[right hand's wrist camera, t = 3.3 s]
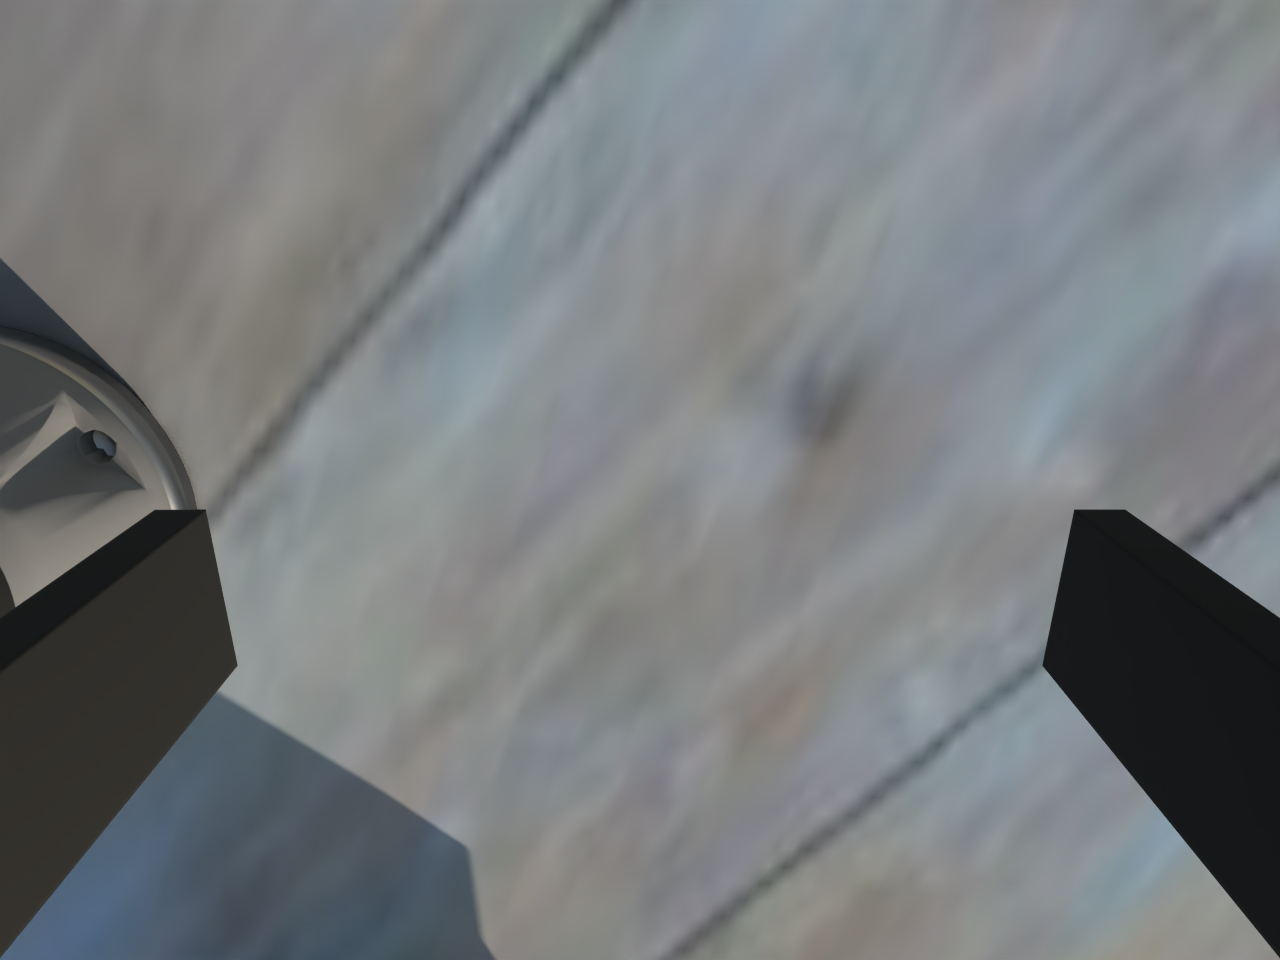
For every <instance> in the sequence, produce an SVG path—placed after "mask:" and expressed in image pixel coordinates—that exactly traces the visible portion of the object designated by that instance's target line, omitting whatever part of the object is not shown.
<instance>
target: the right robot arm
mask: <svg viewBox="0 0 1280 960" xmlns="http://www.w3.org/2000/svg"><path fill="white" fill-rule="evenodd" d="M236 667H237V661H236V656H235V651H234V646H233V641H232V636H231V631H230V626H229V622H228V617H227V612H226V607H225V602H224V597H223V592H222V587H221V582H220V578H219V573H218V568H217V563H216V558H215V553H214V548H213V543H212V538H211V534H210V529H209V524H208V519H207V514H206V510H197V507H196V502H195V497H194V493H193V490H192V486H191V483H190V479H189V477H188V475H187V472H186V470H185V467H184V465H183V462H182V460H181V458H180V457H179V455H178V453H177V451H176V449H175V447H174V445H173V444H172V442H171V440H170V439H169V437H168V436H167V434H166V433H165V431H164V430H163V428H162V427H161V426H160V424H159V423H158V422H157V420H156V419H155V418H154V416H153V415H152V414H151V413H150V412H149V411H148V410H147V408H146V407H145V406H144V405H143V404H142V403H141V402H140V401H139V400H138V399H137V398H136V397H135V396H134V395H133V394H132V393H131V392H130V391H129V390H128V389H127V388H126V387H125V386H123V385H122V384H121V383H120V382H118V381H117V380H116V379H115V378H114V377H112V376H111V375H110V374H108V373H107V372H106V371H104V370H103V369H101V368H100V367H98V366H97V365H95V364H94V363H92V362H91V361H89V360H87V359H86V358H84V357H82V356H81V355H79V354H77V353H75V352H73V351H71V350H69V349H67V348H65V347H63V346H61V345H59V344H57V343H54V342H52V341H49V340H47V339H44V338H41V337H39V336H36V335H32V334H29V333H26V332H22V331H19V330H14V329H9V328H4V327H0V957H1V956H2V955H3V954H4V953H5V951H6V950H7V949H8V948H9V946H10V945H11V944H12V943H13V941H14V940H15V939H16V938H17V937H18V935H19V934H20V933H21V932H22V930H23V929H24V928H25V927H26V925H27V924H28V923H29V922H30V921H31V919H32V918H33V917H34V916H35V914H36V913H37V912H38V911H39V909H40V908H41V907H42V906H43V905H44V903H45V902H46V901H47V900H48V898H49V897H50V896H51V895H52V893H53V892H54V891H55V890H56V889H57V887H58V886H59V885H60V884H61V882H62V881H63V880H64V879H65V877H66V876H67V875H68V874H69V872H70V871H71V870H72V869H73V868H74V866H75V865H76V864H77V863H78V861H79V860H80V859H81V858H82V856H83V855H84V854H85V853H86V852H87V850H88V849H89V848H90V847H91V845H92V844H93V843H94V842H95V840H96V839H97V838H98V837H99V836H100V834H101V833H102V832H103V831H104V829H105V828H106V827H107V826H108V824H109V823H110V822H111V821H112V820H113V818H114V817H115V816H116V815H117V813H118V812H119V811H120V810H121V808H122V807H123V806H124V805H125V804H126V802H127V801H128V800H129V799H130V797H131V796H132V795H133V794H134V792H135V791H136V790H137V789H138V788H139V786H140V785H141V784H142V783H143V781H144V780H145V779H146V778H147V776H148V775H149V774H150V773H151V772H152V770H153V769H154V768H155V767H156V765H157V764H158V763H159V762H160V760H161V759H162V758H163V757H164V755H165V754H166V753H167V752H168V751H169V749H170V748H171V747H172V746H173V744H174V743H175V742H176V741H177V739H178V738H179V737H180V736H181V735H182V733H183V732H184V731H185V730H186V728H187V727H188V726H189V725H190V723H191V722H192V721H193V720H194V719H195V717H196V716H197V715H198V714H199V712H200V711H201V710H202V709H203V707H204V706H205V705H206V704H207V703H208V701H209V700H210V699H211V698H212V696H213V695H214V694H215V693H216V691H217V690H218V689H219V688H220V687H221V685H222V684H223V683H224V682H225V680H226V679H227V678H228V677H229V675H230V674H231V673H232V672H233V671H234V669H235V668H236ZM1043 667H1044V668H1045V669H1046V671H1047V672H1048V673H1049V674H1050V675H1051V677H1052V678H1053V679H1054V680H1055V682H1056V683H1057V684H1058V685H1059V687H1060V688H1061V689H1062V690H1063V691H1064V693H1065V694H1066V695H1067V696H1068V698H1069V699H1070V700H1071V701H1072V703H1073V704H1074V705H1075V706H1076V707H1077V709H1078V710H1079V711H1080V712H1081V714H1082V715H1083V716H1084V717H1085V719H1086V720H1087V721H1088V722H1089V723H1090V725H1091V726H1092V727H1093V728H1094V730H1095V731H1096V732H1097V733H1098V735H1099V736H1100V737H1101V738H1102V739H1103V741H1104V742H1105V743H1106V744H1107V746H1108V747H1109V748H1110V749H1111V751H1112V752H1113V753H1114V754H1115V755H1116V757H1117V758H1118V759H1119V760H1120V762H1121V763H1122V764H1123V765H1124V767H1125V768H1126V769H1127V770H1128V772H1129V773H1130V774H1131V775H1132V776H1133V778H1134V779H1135V780H1136V781H1137V783H1138V784H1139V785H1140V786H1141V788H1142V789H1143V790H1144V791H1145V792H1146V794H1147V795H1148V796H1149V797H1150V799H1151V800H1152V801H1153V802H1154V804H1155V805H1156V806H1157V807H1158V808H1159V810H1160V811H1161V812H1162V813H1163V815H1164V816H1165V817H1166V818H1167V820H1168V821H1169V822H1170V823H1171V824H1172V826H1173V827H1174V828H1175V829H1176V831H1177V832H1178V833H1179V834H1180V836H1181V837H1182V838H1183V839H1184V840H1185V842H1186V843H1187V844H1188V845H1189V847H1190V848H1191V849H1192V850H1193V852H1194V853H1195V854H1196V855H1197V856H1198V858H1199V859H1200V860H1201V861H1202V863H1203V864H1204V865H1205V866H1206V868H1207V869H1208V870H1209V871H1210V872H1211V874H1212V875H1213V876H1214V877H1215V879H1216V880H1217V881H1218V882H1219V884H1220V885H1221V886H1222V887H1223V889H1224V890H1225V891H1226V892H1227V893H1228V895H1229V896H1230V897H1231V898H1232V900H1233V901H1234V902H1235V903H1236V905H1237V906H1238V907H1239V908H1240V909H1241V911H1242V912H1243V913H1244V914H1245V916H1246V917H1247V918H1248V919H1249V921H1250V922H1251V923H1252V924H1253V925H1254V927H1255V928H1256V929H1257V930H1258V932H1259V933H1260V934H1261V935H1262V937H1263V938H1264V939H1265V940H1266V941H1267V943H1268V944H1269V945H1270V946H1271V948H1272V949H1273V950H1274V951H1275V953H1276V954H1277V955H1278V956H1279V957H1280V618H1279V617H1278V616H1276V615H1275V614H1273V613H1272V612H1270V611H1269V610H1268V609H1266V608H1265V607H1263V606H1262V605H1260V604H1259V603H1258V602H1256V601H1255V600H1253V599H1252V598H1250V597H1249V596H1248V595H1246V594H1245V593H1243V592H1242V591H1240V590H1239V589H1238V588H1236V587H1235V586H1233V585H1232V584H1230V583H1229V582H1228V581H1226V580H1225V579H1223V578H1222V577H1221V576H1219V575H1218V574H1216V573H1215V572H1213V571H1212V570H1211V569H1209V568H1208V567H1206V566H1205V565H1203V564H1202V563H1201V562H1199V561H1198V560H1196V559H1195V558H1193V557H1192V556H1191V555H1189V554H1188V553H1186V552H1185V551H1183V550H1182V549H1181V548H1179V547H1178V546H1176V545H1175V544H1173V543H1172V542H1171V541H1169V540H1168V539H1166V538H1165V537H1163V536H1162V535H1161V534H1159V533H1158V532H1156V531H1155V530H1153V529H1152V528H1151V527H1149V526H1148V525H1146V524H1145V523H1143V522H1142V521H1141V520H1139V519H1138V518H1136V517H1135V516H1133V515H1132V514H1131V513H1129V512H1128V511H1126V510H1074V514H1073V519H1072V524H1071V529H1070V534H1069V538H1068V543H1067V548H1066V553H1065V558H1064V563H1063V568H1062V573H1061V578H1060V582H1059V587H1058V592H1057V597H1056V602H1055V607H1054V612H1053V617H1052V622H1051V626H1050V631H1049V636H1048V641H1047V646H1046V651H1045V656H1044V661H1043Z"/></svg>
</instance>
